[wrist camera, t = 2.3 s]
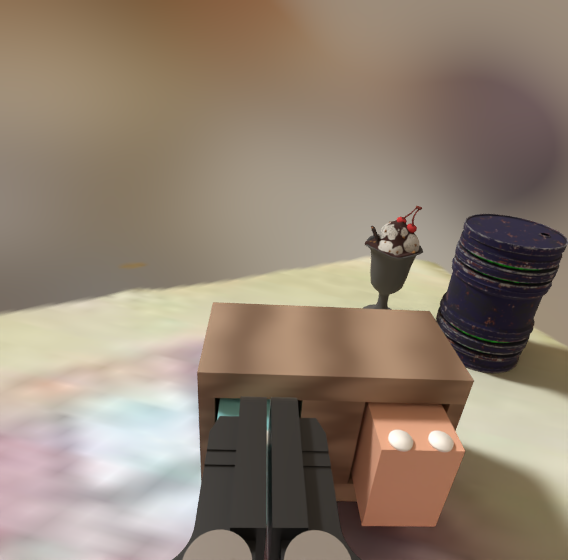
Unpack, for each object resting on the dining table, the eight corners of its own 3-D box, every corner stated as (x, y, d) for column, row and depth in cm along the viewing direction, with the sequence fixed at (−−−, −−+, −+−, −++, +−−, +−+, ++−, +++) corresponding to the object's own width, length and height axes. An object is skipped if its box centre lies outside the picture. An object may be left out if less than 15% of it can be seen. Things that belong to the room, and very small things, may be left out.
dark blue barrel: (430, 360, 47) (467, 237, 40) (430, 316, 55) (460, 208, 48) (526, 383, 44) (583, 256, 37) (511, 333, 53) (555, 222, 46)
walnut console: (202, 499, 30) (197, 372, 25) (214, 416, 37) (213, 302, 32) (428, 502, 31) (473, 380, 26) (399, 420, 38) (429, 311, 33)
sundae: (416, 320, 54) (445, 209, 47) (382, 336, 50) (408, 218, 43) (378, 297, 59) (399, 193, 52) (343, 311, 55) (361, 200, 48)
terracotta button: (362, 527, 27) (382, 448, 23) (346, 449, 32) (361, 375, 29) (435, 528, 27) (466, 450, 24) (408, 450, 33) (430, 377, 29)
